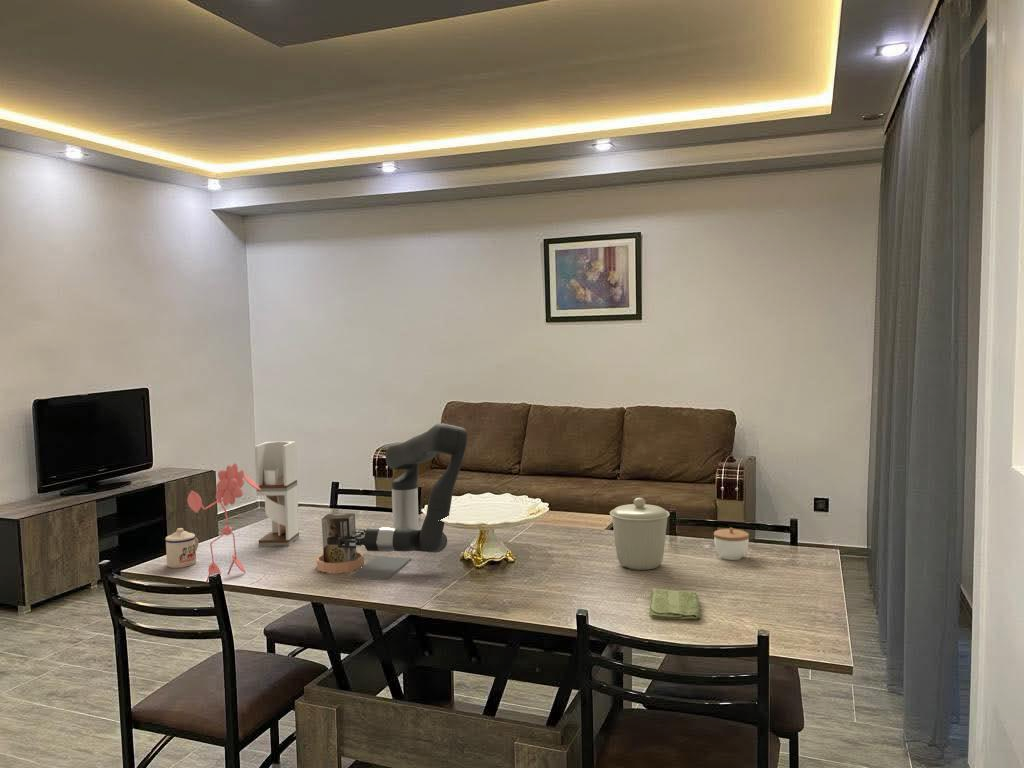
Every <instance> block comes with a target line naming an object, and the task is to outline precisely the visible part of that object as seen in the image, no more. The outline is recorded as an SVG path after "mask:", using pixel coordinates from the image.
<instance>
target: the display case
mask: <svg viewBox="0 0 1024 768" xmlns="http://www.w3.org/2000/svg"><path fill="white" fill-rule="evenodd" d="M296 445H297V444H296V441H265V442H262V443H260V444H257V445H255V446H254V459H255V461H254V463H255V481H256V482H255V483H256V484H257V485H258V486H259V488H260V489H261V491H260V490H258V489H255V490H256V497H258V496H260V497H262V496H264V507H265V510H264V511H265V515H266V517H267V518H268V519H270V520H271V531H269V532H268V533H267V534H265V535H264V536H263V537H261V538H260V539H258V547H274V546H273V545H277V546H276V547H279V546H278V545H285V546H284V547H287V546H286V545H289V546H291V545H292V544H293V543H294V542H295V541H297V540H298V539H299V538H300V525H299V522H300V521H299V496H298V468H297V466H298V465H297V446H296ZM298 537H299V538H298ZM297 538H298V539H297ZM296 539H297V540H296ZM294 540H295V541H294ZM293 541H294V542H293ZM292 542H293V543H292ZM291 543H292V544H291ZM290 544H291V545H290Z"/></svg>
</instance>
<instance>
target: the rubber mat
mask: <svg viewBox="0 0 1024 768" xmlns="http://www.w3.org/2000/svg"><path fill="white" fill-rule="evenodd" d="M411 561H412V557H399V556H397V557H395V556H375V557H374V558H372V559H370V561H368V562H367V563H365V564H364V566H363V567H362V568H360V569H358V570H355V572H354V573H352V574H351V575H350V576H351V577H350V578H359V577H361V578H363V579H379V580H380V579H383V580H390V579H391V578H392V577H393V576H394V575H396V574H397V573H398V572H399V571H401V569H402V568H403V567H405V566H406V565H407V564H408V563H410V562H411ZM361 578H360V579H361Z"/></svg>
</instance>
